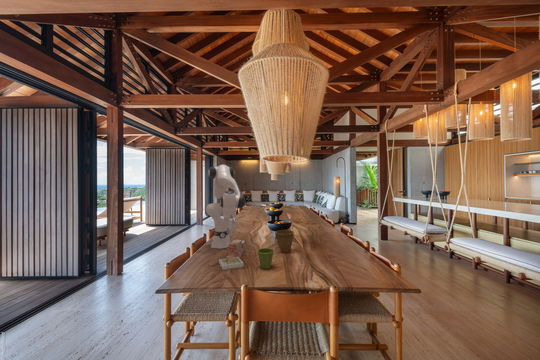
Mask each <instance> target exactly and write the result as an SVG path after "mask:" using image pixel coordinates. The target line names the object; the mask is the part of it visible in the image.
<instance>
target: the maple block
mask: <svg viewBox="0 0 540 360" xmlns="http://www.w3.org/2000/svg"><path fill="white" fill-rule="evenodd" d="M226 258H227V265H229V264H235V257H234V255H233V256H229V255H226Z"/></svg>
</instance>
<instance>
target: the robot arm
mask: <svg viewBox="0 0 540 360" xmlns="http://www.w3.org/2000/svg"><path fill="white" fill-rule="evenodd" d="M207 175H208V177H209V179H212V180H214V183H213V186H214V187H213V193H214V197H215V198H216V199H218V200H219V202H212V203H208V204H207V206H206V208H205V212H206V214H207V215H208V216H210V217H211V218H212V220H213V222H214V232H213V234H214V236H213V238H211V244H210V248H211V249H219V250H220V249H227V248H229V244H230V243H231V237H233V236H234V231H236V229H237V227H236V226H237V225H236V224H237V223H236V219H235V218H236V217H237V209H243V207H245V205H246V198H245V195H244V194H243V192H242V189H241V188H240V186H239V184H238V181H237V180H236V179H235V178H234V176H235V169H234V167H233V166H228V165H226V164H220V165H218V166H210V167H209V168H208V171H207ZM228 188H229V189H231V190H228ZM221 216H223V217H221Z"/></svg>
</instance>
